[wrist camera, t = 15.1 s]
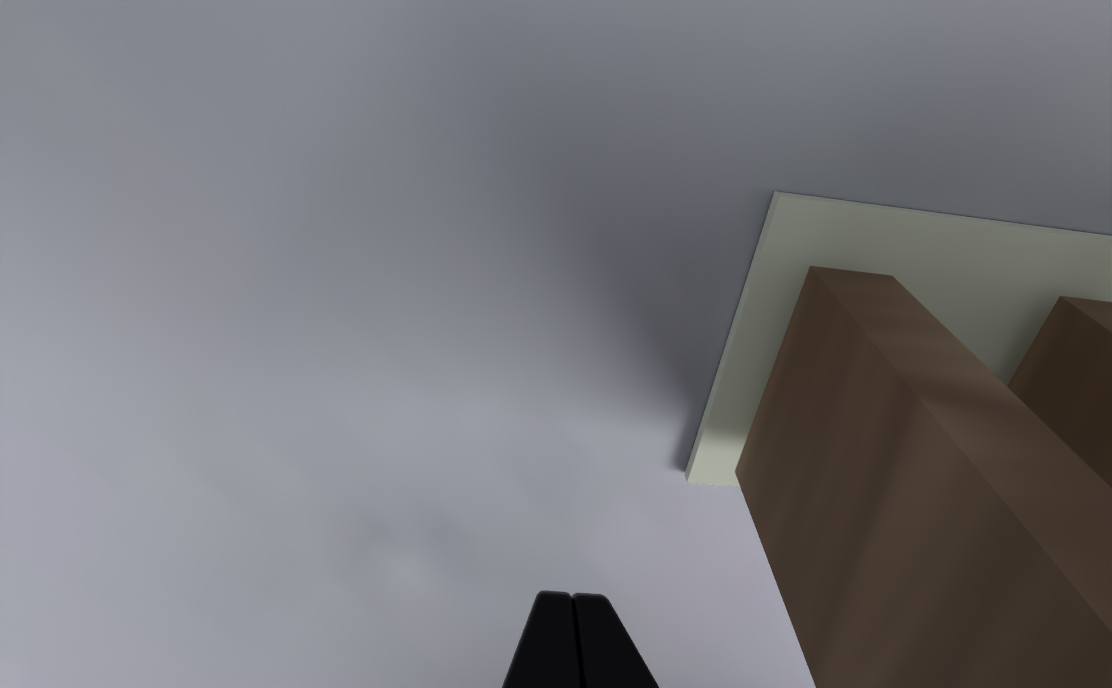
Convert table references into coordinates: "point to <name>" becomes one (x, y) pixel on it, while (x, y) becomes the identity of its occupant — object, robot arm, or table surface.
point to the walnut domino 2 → (1073, 379)
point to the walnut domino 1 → (921, 506)
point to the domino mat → (917, 264)
